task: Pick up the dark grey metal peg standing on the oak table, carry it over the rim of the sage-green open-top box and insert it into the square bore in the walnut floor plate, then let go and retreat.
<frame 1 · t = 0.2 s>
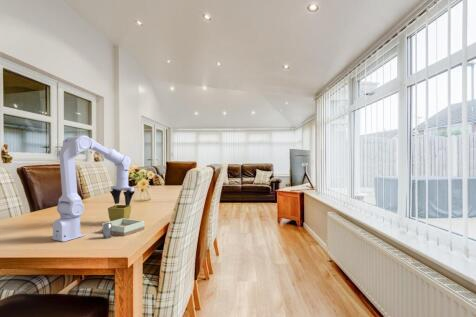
hand: (122, 204, 137), 10 cm above the table, fingers open, 7 cm apart
peg: (107, 237, 113), on the table
flower pot: (119, 224, 136), on the table
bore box: (123, 230, 123), on the table
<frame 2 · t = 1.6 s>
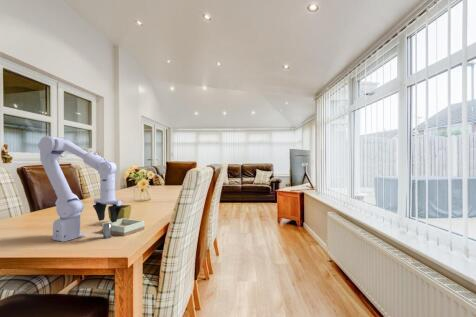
hand: (107, 221, 113), 7 cm above the table, fingers open, 7 cm apart
nothing on the table moved.
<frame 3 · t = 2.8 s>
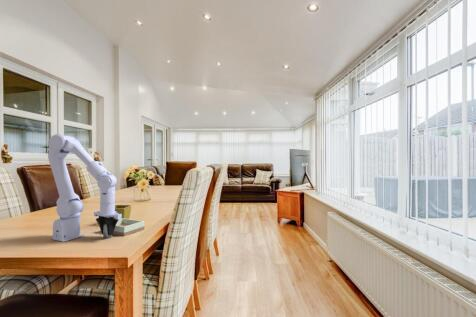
hand: (107, 234, 113), 1 cm above the table, fingers closed on peg, 3 cm apart
peg: (107, 237, 113), on the table, touching gripper
everything else where it was.
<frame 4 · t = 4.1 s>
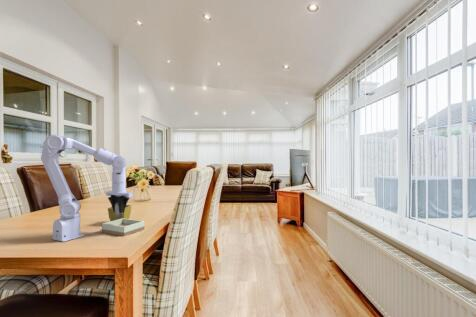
hand: (118, 212, 120), 9 cm above the table, fingers closed on peg, 3 cm apart
peg: (118, 216, 120), point 8 cm above the table, touching gripper
everything else where it was.
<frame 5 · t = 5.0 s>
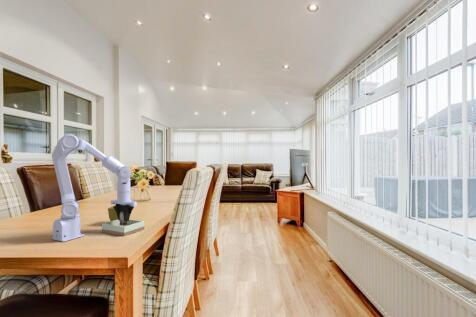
hand: (123, 220, 123), 5 cm above the table, fingers closed on peg, 3 cm apart
peg: (123, 224, 123), point 3 cm above the table, touching gripper
everything else where it was.
when the fingers open (2 cm above the table, at t = 5.8 s): peg stays where it is, resting in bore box.
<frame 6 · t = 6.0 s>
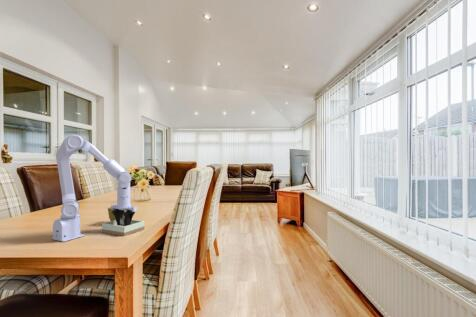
hand: (123, 225, 123), 2 cm above the table, fingers open, 5 cm apart
peg: (123, 230, 123), resting in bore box
everything else where it was.
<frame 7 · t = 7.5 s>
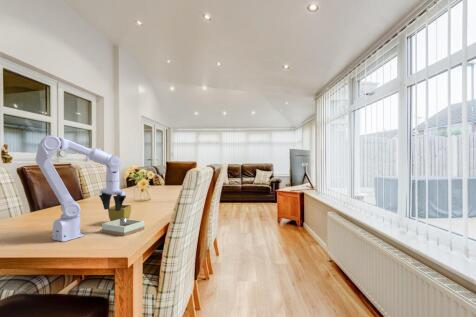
hand: (112, 209, 123), 10 cm above the table, fingers open, 7 cm apart
nothing on the table moved.
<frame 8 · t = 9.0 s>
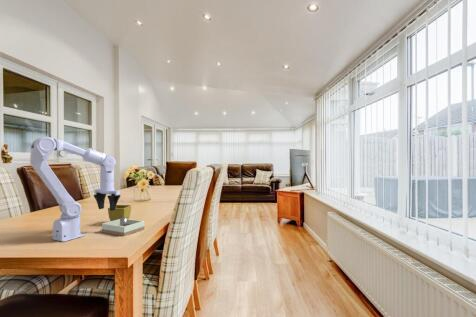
hand: (106, 209, 123), 10 cm above the table, fingers open, 7 cm apart
nothing on the table moved.
at the end: peg 0.1 cm off-centre on the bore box, point 0.0 cm above the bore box's base; peg tilted 1°; the gripper is holding nothing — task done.
